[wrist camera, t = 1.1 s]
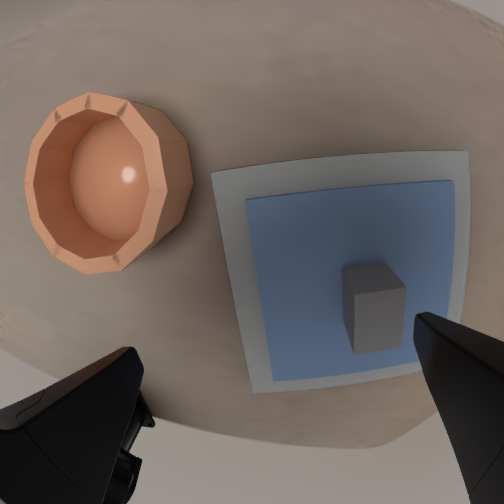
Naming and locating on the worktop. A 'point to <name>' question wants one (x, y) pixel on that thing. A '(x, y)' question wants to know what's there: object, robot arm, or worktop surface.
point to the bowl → (106, 181)
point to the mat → (318, 178)
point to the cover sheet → (342, 241)
